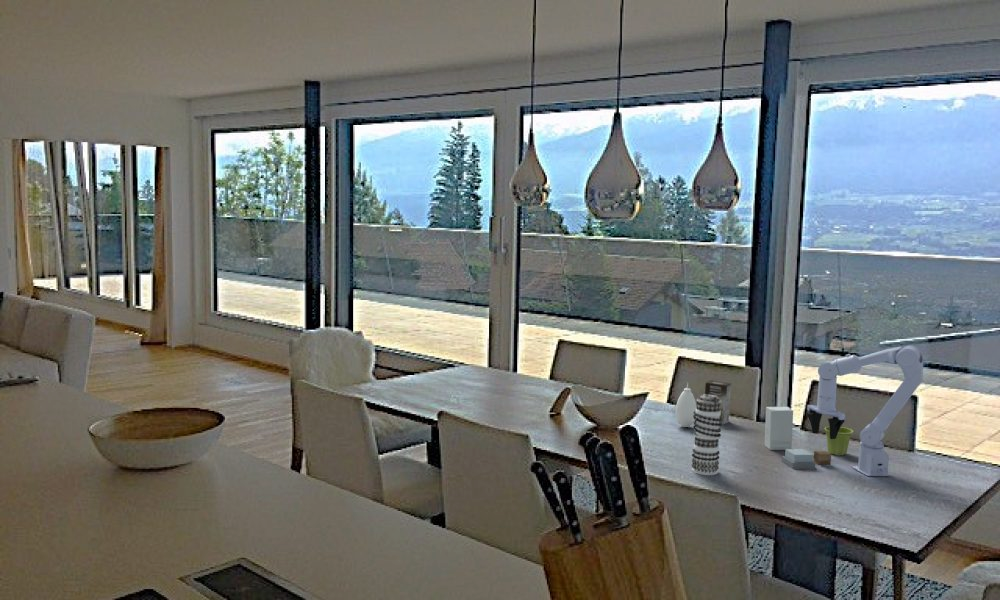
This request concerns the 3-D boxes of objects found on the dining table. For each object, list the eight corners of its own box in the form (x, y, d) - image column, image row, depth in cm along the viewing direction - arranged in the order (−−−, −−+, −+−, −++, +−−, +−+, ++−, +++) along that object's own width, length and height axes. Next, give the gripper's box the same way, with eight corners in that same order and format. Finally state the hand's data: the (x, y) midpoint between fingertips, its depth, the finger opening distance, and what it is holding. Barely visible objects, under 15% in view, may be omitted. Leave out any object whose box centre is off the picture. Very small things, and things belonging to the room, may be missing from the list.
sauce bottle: (699, 428, 330) (702, 383, 328) (685, 430, 326) (688, 384, 324) (684, 423, 337) (687, 379, 335) (670, 426, 332) (673, 381, 330)
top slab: (812, 461, 282) (813, 454, 281) (794, 462, 281) (794, 454, 281) (802, 456, 288) (803, 449, 288) (785, 456, 287) (785, 449, 287)
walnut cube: (830, 465, 285) (831, 454, 285) (819, 465, 284) (820, 454, 284) (824, 462, 289) (825, 450, 288) (813, 462, 288) (814, 450, 288)
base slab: (815, 470, 281) (815, 462, 281) (792, 470, 280) (792, 463, 280) (803, 462, 289) (804, 455, 289) (781, 463, 288) (781, 456, 288)
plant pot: (853, 458, 294) (855, 434, 294) (825, 456, 296) (827, 431, 295) (848, 451, 304) (850, 427, 303) (820, 448, 305) (822, 425, 305)
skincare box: (785, 446, 308) (788, 406, 306) (792, 450, 302) (794, 410, 300) (763, 445, 307) (765, 405, 306) (768, 450, 301) (771, 409, 300)
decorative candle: (684, 468, 277) (688, 393, 274) (707, 465, 280) (711, 392, 278) (701, 476, 268) (705, 399, 266) (725, 474, 272) (729, 397, 269)
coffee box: (702, 421, 342) (704, 382, 340) (707, 418, 347) (709, 379, 346) (724, 424, 337) (726, 385, 335) (729, 421, 342) (731, 382, 341)
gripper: (852, 400, 280) (849, 440, 282) (818, 391, 293) (816, 429, 295) (837, 401, 277) (834, 442, 279) (803, 392, 290) (801, 431, 292)
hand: (824, 435), depth 287 cm, fingers open, 7 cm apart
